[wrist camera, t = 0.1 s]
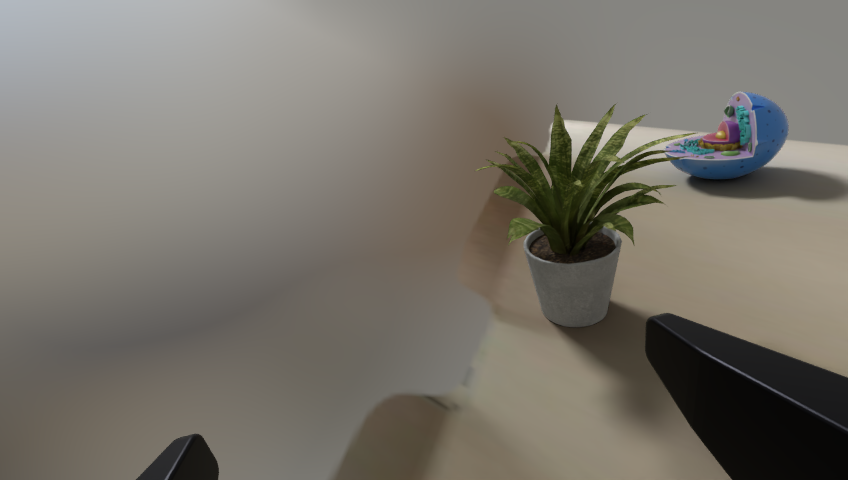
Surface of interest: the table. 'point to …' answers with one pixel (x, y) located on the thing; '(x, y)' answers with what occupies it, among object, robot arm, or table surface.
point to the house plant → (576, 219)
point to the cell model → (734, 140)
